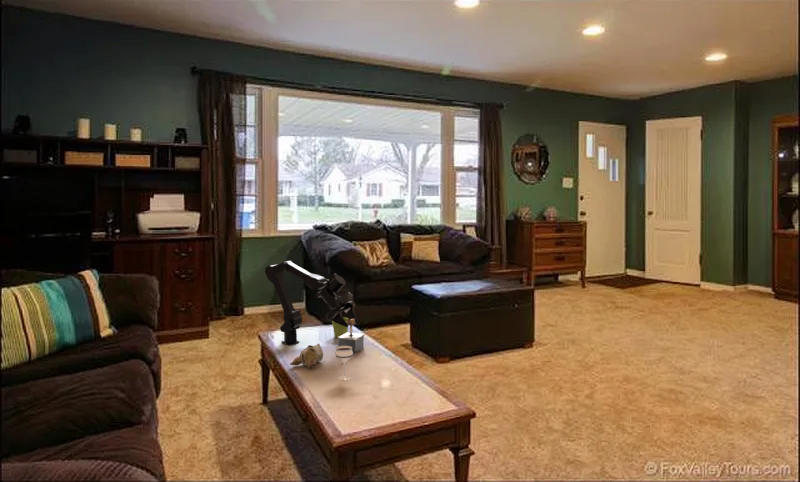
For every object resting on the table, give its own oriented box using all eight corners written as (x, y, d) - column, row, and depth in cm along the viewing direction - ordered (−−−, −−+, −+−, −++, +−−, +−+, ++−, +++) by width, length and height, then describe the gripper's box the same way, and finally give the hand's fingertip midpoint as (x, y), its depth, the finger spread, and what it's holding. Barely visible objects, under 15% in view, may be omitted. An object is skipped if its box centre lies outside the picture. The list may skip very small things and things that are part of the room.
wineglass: (353, 374, 202) (353, 345, 201) (352, 381, 195) (352, 350, 194) (336, 375, 202) (336, 345, 201) (334, 381, 195) (334, 350, 194)
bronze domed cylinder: (345, 339, 231) (345, 319, 231) (349, 337, 235) (349, 317, 234) (352, 340, 230) (352, 320, 229) (356, 338, 233) (356, 318, 233)
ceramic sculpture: (329, 341, 217) (309, 353, 204) (330, 360, 219) (310, 373, 205) (308, 338, 222) (287, 350, 208) (309, 357, 223) (288, 370, 210)
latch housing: (338, 352, 231) (337, 337, 230) (349, 345, 240) (349, 331, 240) (355, 354, 227) (355, 339, 227) (366, 347, 237) (366, 333, 237)
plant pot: (348, 339, 251) (348, 322, 250) (329, 339, 251) (329, 322, 250) (351, 334, 260) (350, 317, 260) (332, 334, 261) (332, 317, 260)
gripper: (331, 290, 223) (354, 317, 220) (351, 284, 241) (372, 308, 237) (316, 307, 227) (338, 333, 224) (337, 299, 244) (357, 323, 241)
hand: (352, 324), depth 231 cm, fingers open, 9 cm apart
